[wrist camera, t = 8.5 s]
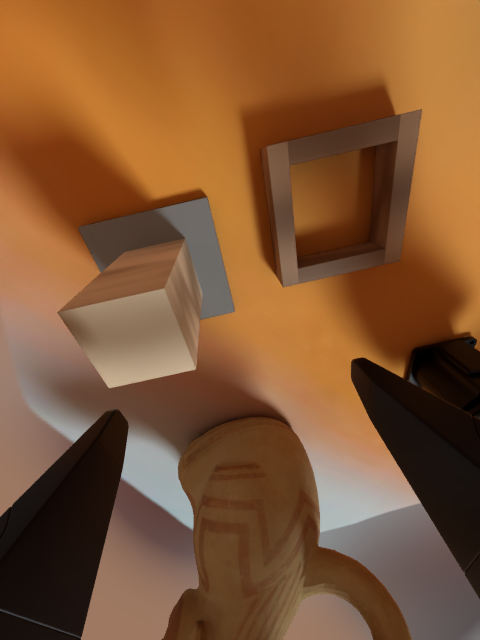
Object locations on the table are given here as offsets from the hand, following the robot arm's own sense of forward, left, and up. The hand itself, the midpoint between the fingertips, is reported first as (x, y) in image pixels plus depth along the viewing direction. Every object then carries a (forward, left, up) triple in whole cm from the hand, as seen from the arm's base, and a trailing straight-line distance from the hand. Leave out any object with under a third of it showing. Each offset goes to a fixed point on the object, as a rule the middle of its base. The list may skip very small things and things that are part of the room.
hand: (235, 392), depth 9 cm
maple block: (+1, +4, -12) cm, 13 cm away
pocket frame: (+3, -9, -12) cm, 16 cm away
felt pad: (+1, +4, -13) cm, 13 cm away
